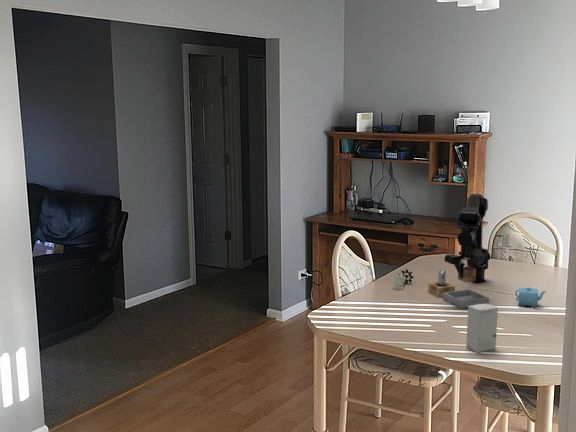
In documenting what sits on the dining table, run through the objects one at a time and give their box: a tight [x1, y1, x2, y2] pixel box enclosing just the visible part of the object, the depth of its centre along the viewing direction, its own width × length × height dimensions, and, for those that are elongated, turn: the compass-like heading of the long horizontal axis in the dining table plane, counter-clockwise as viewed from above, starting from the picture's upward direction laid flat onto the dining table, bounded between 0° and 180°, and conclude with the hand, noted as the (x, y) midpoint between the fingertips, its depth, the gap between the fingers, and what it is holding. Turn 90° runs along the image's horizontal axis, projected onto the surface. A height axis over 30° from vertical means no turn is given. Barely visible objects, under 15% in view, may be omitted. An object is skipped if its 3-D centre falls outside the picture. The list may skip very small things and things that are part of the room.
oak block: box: [427, 281, 456, 298], centre depth 274 cm, size 8×8×4 cm
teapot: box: [514, 286, 548, 309], centre depth 258 cm, size 12×6×8 cm, turn 70°
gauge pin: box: [437, 269, 447, 287], centre depth 274 cm, size 3×3×10 cm
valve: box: [393, 268, 415, 291], centre depth 285 cm, size 7×7×12 cm
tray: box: [442, 288, 490, 310], centre depth 263 cm, size 13×13×3 cm
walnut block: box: [457, 265, 476, 283], centre depth 261 cm, size 5×5×5 cm
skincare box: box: [465, 303, 499, 353], centre depth 215 cm, size 8×6×15 cm
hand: (466, 277), depth 261 cm, fingers closed on walnut block, 5 cm apart
